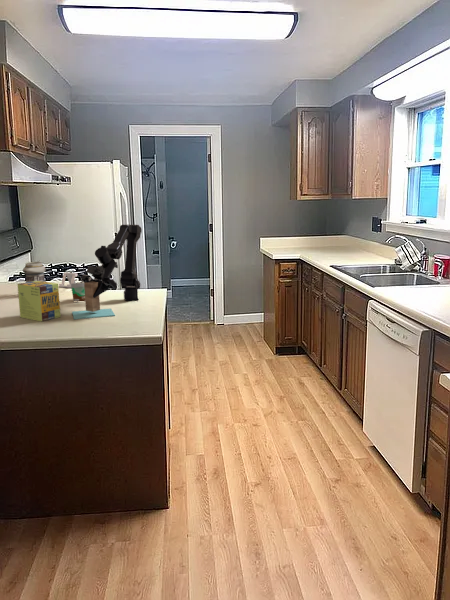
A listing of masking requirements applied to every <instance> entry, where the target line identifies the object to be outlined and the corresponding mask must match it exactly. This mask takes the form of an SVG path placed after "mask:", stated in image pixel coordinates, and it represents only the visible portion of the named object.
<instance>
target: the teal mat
mask: <svg viewBox="0 0 450 600" xmlns="http://www.w3.org/2000/svg"><path fill="white" fill-rule="evenodd" d="M71 313H72V316H73V320H84V319H94V318H107V317H115V316H116V314H115V313H114V311H113V310H112V308H100V310H98V311H94V312H91V311H86V309H85V310H76V311H75V310H73V311H71Z"/></svg>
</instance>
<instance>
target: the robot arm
mask: <svg viewBox="0 0 450 600" xmlns="http://www.w3.org/2000/svg"><path fill="white" fill-rule="evenodd" d="M142 230H143V229H142V227H141V226H140V225H139V224H120V226H119V229H118V232H117V234H116V236H115V237H114V239H113V241H112V242H111V243H109V244H108V245H107V246H106V245H101V246H100V247H98V248H97V249H96V250H95V251H94V256H95V257H96V258H97V260H98V261H99V263H100V264H101V265H97V266H93V265H88V266H87V269H86V273H87V274H82V275H81V277H80V281H81V282H82V281H83V282H84V283H86V282H91V281H92V282H98V287H97V289H96V291H95V293H94V295H93V297H94V298H95V297H97V296H98V295H99V296H100V295H102V294H103V293H105V292H107V291H109V290H110V289H111V290H116V288H117V287H118V283H117V282H116V281H115V279H114V278H112V276H113V274H112V273H113V271H114V270H115V269H118V268H119V267H118V262H117V261H116V260H120V259H121V258H122V255H123V249H122V248H123V246H124V244H125V242H126V253H125V254H126V255H125V264H124V265H125V267H124V269H123V270H122V271H121V272H120V279H119V282H120V286H121V289H123V299H124V300H125V301H126V302H131V301H132V302H133V301H134V302H135V301H140V300H139V296H138V295H139V294H138V293H139V291H138V290H139V289H141V282H140V280H139V279H138V273H137V272H136V270H135V267H136V254H137V253H136V252H137V244H138V243H137V242H138V241H139V240H140V239H141V234H142ZM88 274H89V275H88Z"/></svg>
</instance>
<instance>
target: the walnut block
mask: <svg viewBox="0 0 450 600" xmlns="http://www.w3.org/2000/svg"><path fill="white" fill-rule="evenodd" d="M97 287H98V282H92V281H91V282H86V283H84V289H85V301H84V302H85V310H86V311H91V312H94V311H98V310H100V309H101V302H100V301H101V300H100V295H98V296H97V297H95V298H94V297H93V295H94V293H95V291H96V289H97Z"/></svg>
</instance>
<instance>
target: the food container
mask: <svg viewBox="0 0 450 600" xmlns="http://www.w3.org/2000/svg"><path fill="white" fill-rule="evenodd" d="M70 289H71V293H72V301H84V302H85V289H84V282H83V281H82V280H81V281H79V282H76V283H75V284H72V283H71V288H70Z"/></svg>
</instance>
